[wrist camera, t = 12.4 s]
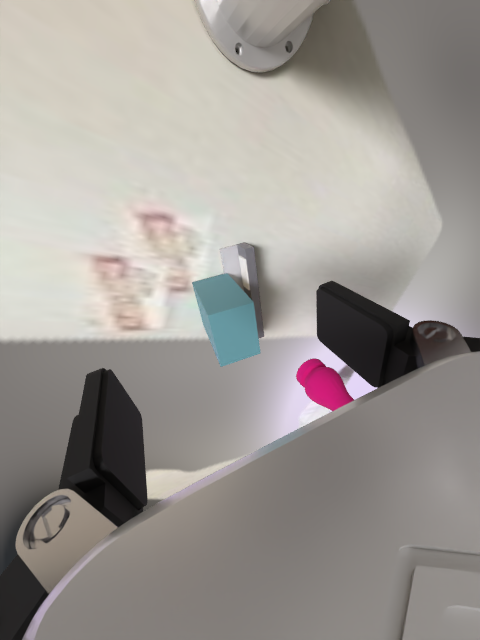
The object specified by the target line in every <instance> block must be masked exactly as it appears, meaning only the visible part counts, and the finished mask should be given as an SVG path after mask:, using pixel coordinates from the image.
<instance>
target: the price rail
mask: <svg viewBox="0 0 480 640" xmlns="http://www.w3.org/2000/svg"><path fill="white" fill-rule="evenodd" d="M220 254H221V259H222V264H223V269H224V274H226V273H228V274H229V275H230V277H231V278H232V279H233V280H234V281H235V282H236V283H237V284H238V285H239V287H240V288H241V289H242V290H243V291H244V292H245V293H246V294H247V295H248V297H249V298H250V299H251V300H252V301H253V302H254V309H255V316H256V324H257V331H258V339H259V338H261V337H264V330H263V322H262V313H261V305H260V296H259V287H258V279H257V270H256V261H255V253H254V247H253V246H251V245H249V244H247V243H240V244H237V245H233V246H229V247H225V248H221V249H220Z"/></svg>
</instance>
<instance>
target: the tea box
mask: <svg viewBox="0 0 480 640" xmlns="http://www.w3.org/2000/svg"><path fill="white" fill-rule="evenodd" d="M192 284H193V287H194V291H195V295H196V298H197V302H198V306H199V310H200V313H201V317H202V321H203V325H204V327H205V330H206V332H207V335H208V337H209V339H210V342H211V344H212V347H213V349H214V351H215V354H216V356H217V359H218V361H219V364H220V366H221V367H222V366H225V365H227V364H230V363H234V362H237V361H239V360H242V359H245V358H248V357H251V356H254V355H257V354H260V347H259V339H258V331H257V324H256V316H255V309H254V302H253V301H252V300H251V299H250V298H249V297H248V295H247V294H246V293H245V292H244V291H243V290H242V289H241V288H240V287H239V285H238V284H237V283H236V282H235V281H234V280H233V279H232V278H231V277H230V275H229V274H228V273H226V274H222V275H218V276H215V277H211V278H207V279H203V280H199V281H196V282H192Z"/></svg>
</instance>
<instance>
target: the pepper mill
mask: <svg viewBox="0 0 480 640" xmlns="http://www.w3.org/2000/svg"><path fill="white" fill-rule="evenodd" d="M296 377H297V380H298V382H299V383H300V384H301V385H302V386H303V387H305V392H306V394H307V396H309V398H310V399H311V400H313V401H314V402H316V403H317V404H319V405H322V406H324V407H326V408H328V409H330V410H332V411H334V410H336V409H338V408H340V407H342V406H344V405H346V404H348V403H350V402H352V401H354V399H353V398H352V397H351V396H350V395H349V393H348V392H347V390H346V388H345V385H344V383H343V381H342V379H341V377H340V375H339V374H338V373H337V372H336V371H335V370H334V369H332V368H329V367H326V366H325V365H324V364H323V363H322V362H321V361H320V360H319V359H310V360H308V361H306V362H304V363H303V364H302V365H301V366H300V368H299V369H298V372H297V375H296Z"/></svg>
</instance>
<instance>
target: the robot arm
mask: <svg viewBox="0 0 480 640" xmlns="http://www.w3.org/2000/svg"><path fill="white" fill-rule="evenodd" d="M194 1H195V4H196V7H197V9H198V12H199V15H200V17H201V20H202V22H203V24H204V26H205V28H206V30H207V32H208V34H209V35H210V37H211V39H212V40H213V41H214V43H215V44H216V46H217V47H218V48H219V50H220V51H221V52H222V53H223V54H224V55H225V56H226V57H227V58H228V59H229V60H230V61H231V62H233V63H234V64H236V65H238V66H239V67H241V68H243V69H246V70H248V71H251V72H267V71H271V70H274V69H276V68H277V67H279V66H281V65H283V64H284V63H285V62H286V61H288V60H289V59H290V58H291V57H292V56H293V55H294V54H295V53H296V51H297V50H298V49H299V47H300V46H301V44H302V42H303V41H304V39H305V37H306V35H307V32H308V30H309V28H310V25H311V22H312V18H313V15H314V12H315V11H316V10H317V9H318V8H320V7H321V6H322V5H326V4H328V3H329V2H330V0H194ZM235 50H237V52H238V55H237V53H236V51H235ZM316 294H317V336H318V339H319V340H320V341H321V342H322V343H323V344H324V345H325V346H326V347H327V348H329V349H330V350H331V351H332V352H333V353H334V354H336V355H337V356H338V357H339V358H340V359H341V360H343V361H344V362H345V363H346V364H347V365H348V366H349V367H351V368H352V369H353V370H354V371H355V372H357V373H358V374H359V375H360V376H361V377H362V378H363V379H365V380H366V381H367V382H368V383H369V384H370V385H372V386H374V387H378V388H377V389H376V390H374V391H372V392H370V393H368V394H366V395H364V396H362V397H360V398H358V399H356V400H354V401H352V402H350V403H348V404H346V405H344V406H342V407H340V408H338V409H336V410H334V411H332V412H330V413H328V414H326V415H324V416H323V417H321V418H319V419H317V420H315V421H313V422H311V423H309V424H307V425H305V426H303V427H301V428H299V429H297V430H295V431H294V432H291V433H290V434H288V435H286V436H284V437H282V438H280V439H278V440H276V441H274V442H272V443H271V444H268V445H266V446H264V447H262V448H261V449H259V450H257V451H255V452H253V453H251V454H249V455H247V456H245V457H243V458H241V459H239V460H238V461H236V462H234V463H232V464H230V465H228V466H226V467H224V468H222V469H220V470H218V471H216V472H214V473H213V474H211V475H209V476H207V477H205V478H203V479H201V480H199V481H197V482H196V483H194V484H192V485H190V486H188V487H186V488H185V489H183V490H181V491H179V492H177V493H175V494H173V495H172V496H170V497H168V498H166V499H164V500H162V501H161V502H159V503H157V504H155V505H153V506H152V507H150V508H148V509H147V510H145V511H143V507H144V506H146V505H147V486H146V472H145V457H144V444H143V427H142V418H141V414H140V412H139V411H138V409H137V407H136V406H135V404H134V403H133V401H132V400H131V398H130V397H129V395H128V394H127V392H126V391H125V389H124V388H123V386H122V385H121V383H120V382H119V380H118V379H117V377H116V376H115V374H114V373H113V372H112V370H107V371H106V369H104V368H102V369H99V370H96V371H94V372H91V373H89V374H87V376H86V380H85V385H84V390H83V396H82V401H81V406H80V411H79V415H77V416H76V417H75V418H74V420H73V423H72V428H71V433H70V438H69V443H68V447H67V452H66V456H65V461H64V466H63V471H62V475H61V480H60V485H59V490H58V491H55V492H52V493H51V494H49V495H48V496H46V497H45V498H43V499H42V500H41V501H40V502H39V503H38V504H37V505H36V506H35V507H34V508H33V509H32V510H31V512H30V513H29V514H28V515H27V516H26V518H25V520H24V522H23V523H22V525H21V527H20V529H19V532H18V535H17V537H16V550H17V553H18V555H17V556H16V557H15V558H14V560H13V561H12V562H11V563H10V565H9V566H8V567H7V568H6V569H5V571H4V572H3V573H2V574H1V576H0V640H480V338H471V337H462V335H461V333H460V332H459V331H458V330H457V329H456V328H455V327H453V326H451V325H449V324H446V323H443V322H439V321H421V322H418V323H417V324H415V325H414V327H413V328H412V327H410V326H409V322H410V321H409V320H407V319H405V318H404V317H402V316H400V315H398V314H396V313H394V312H392V311H390V310H388V309H386V308H384V307H382V306H380V305H378V304H376V303H375V302H373V301H371V300H369V299H367V298H365V297H363V296H361V295H359V294H357V293H355V292H353V291H351V290H349V289H347V288H346V287H344V286H342V285H340V284H338V283H336V282H334V281H330V282H327V283H324V284H322V285H320V286H319V289H318V290H317V293H316Z"/></svg>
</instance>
